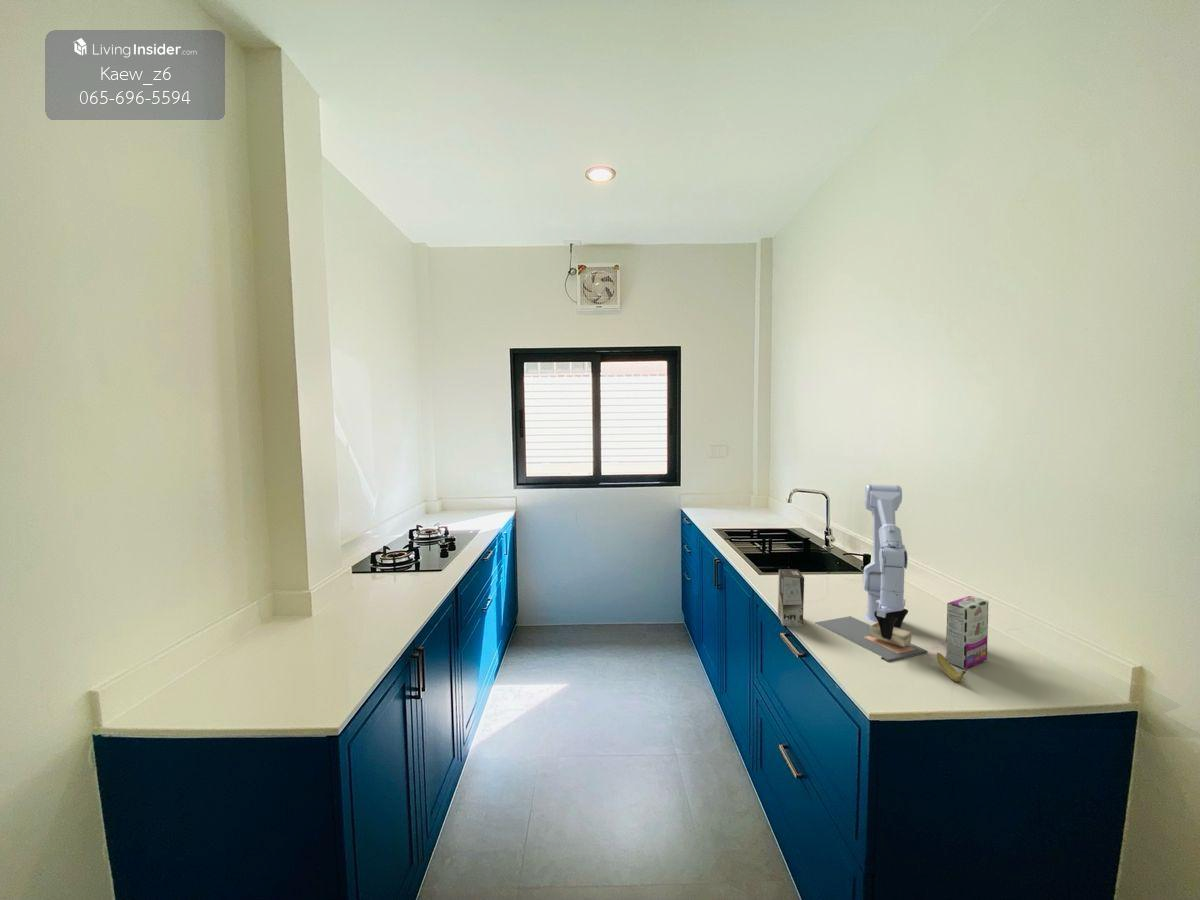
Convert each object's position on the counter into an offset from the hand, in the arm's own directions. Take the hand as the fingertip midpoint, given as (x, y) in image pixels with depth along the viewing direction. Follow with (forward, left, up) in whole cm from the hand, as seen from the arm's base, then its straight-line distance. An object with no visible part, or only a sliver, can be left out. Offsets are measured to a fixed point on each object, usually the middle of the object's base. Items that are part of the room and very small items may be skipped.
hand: (890, 635), depth 141 cm
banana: (+1, +18, -3) cm, 18 cm away
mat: (+2, -6, -3) cm, 7 cm away
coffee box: (+15, -23, -3) cm, 28 cm away
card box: (0, 0, -1) cm, 1 cm away
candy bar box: (-11, +14, -3) cm, 18 cm away
